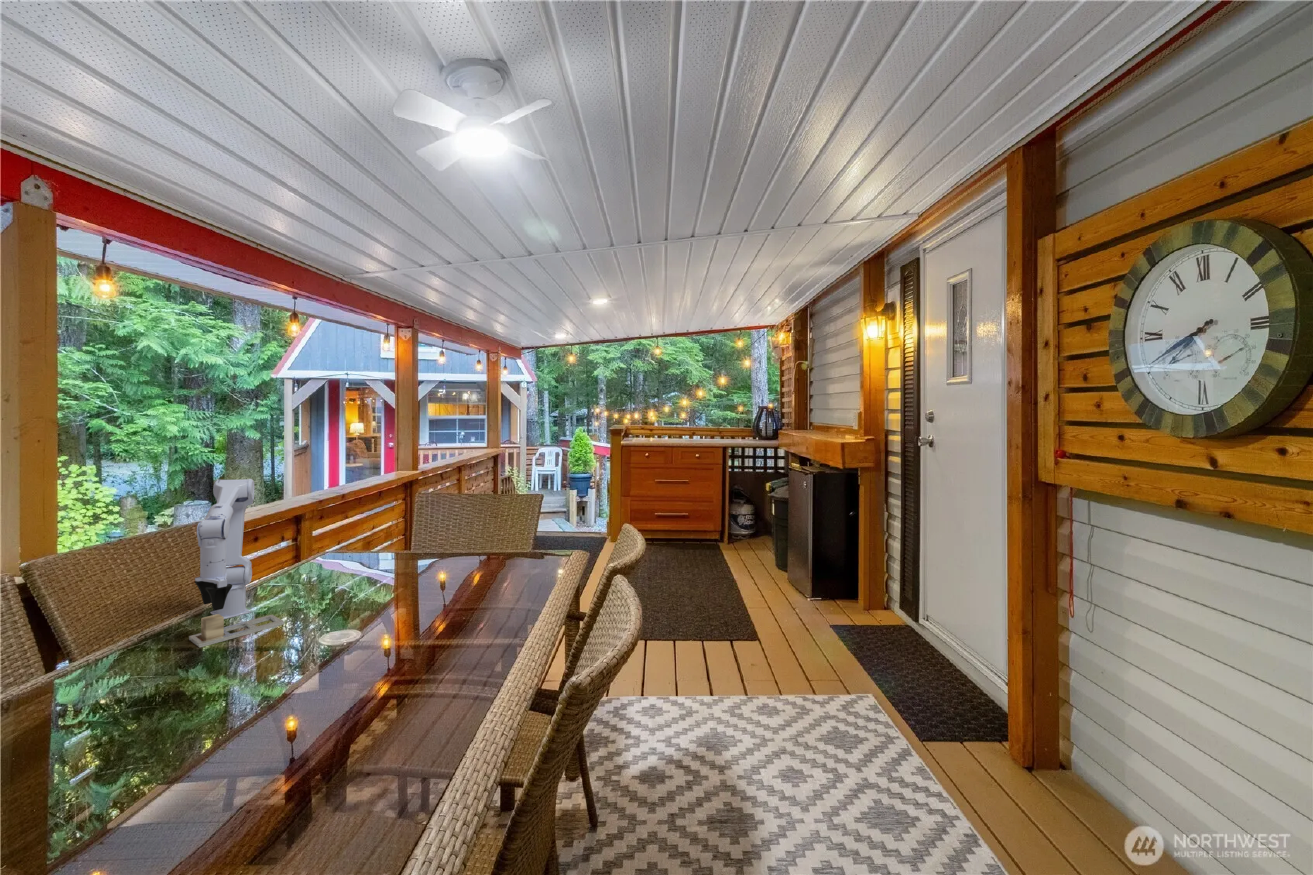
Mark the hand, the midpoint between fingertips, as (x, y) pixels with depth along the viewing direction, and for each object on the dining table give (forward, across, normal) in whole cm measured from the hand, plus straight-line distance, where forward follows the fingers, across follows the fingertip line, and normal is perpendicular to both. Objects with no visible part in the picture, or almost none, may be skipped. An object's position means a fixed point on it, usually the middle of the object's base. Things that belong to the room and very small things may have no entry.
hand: (213, 606), depth 150 cm
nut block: (+9, 0, 0) cm, 9 cm away
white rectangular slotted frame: (+9, 0, +6) cm, 11 cm away
